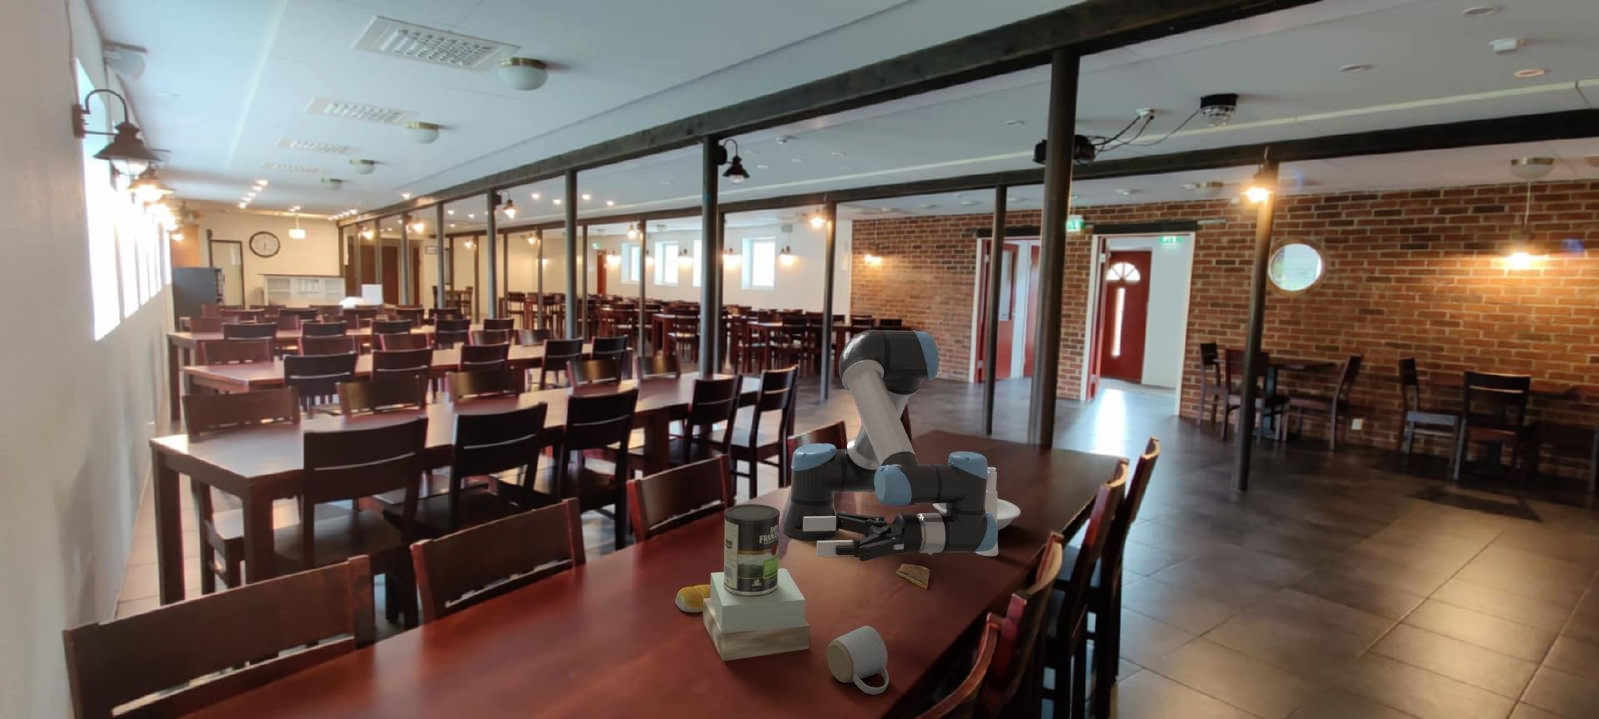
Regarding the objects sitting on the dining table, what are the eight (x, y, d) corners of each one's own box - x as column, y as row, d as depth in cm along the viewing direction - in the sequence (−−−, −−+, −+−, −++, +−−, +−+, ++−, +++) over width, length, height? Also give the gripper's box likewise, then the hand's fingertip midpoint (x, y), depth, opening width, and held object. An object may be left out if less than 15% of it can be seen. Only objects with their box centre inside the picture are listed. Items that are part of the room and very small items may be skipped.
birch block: (702, 623, 141) (703, 598, 140) (780, 613, 146) (781, 589, 146) (722, 664, 126) (723, 636, 126) (808, 651, 132) (809, 625, 131)
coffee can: (788, 581, 137) (790, 509, 136) (758, 601, 128) (760, 523, 127) (743, 570, 142) (744, 500, 141) (711, 588, 133) (713, 513, 132)
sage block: (710, 597, 141) (710, 572, 141) (784, 592, 145) (785, 568, 144) (721, 633, 127) (722, 605, 126) (804, 626, 130) (805, 599, 130)
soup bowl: (1029, 526, 207) (1030, 504, 207) (1004, 550, 187) (1006, 525, 186) (949, 510, 220) (950, 489, 219) (918, 531, 200) (919, 507, 199)
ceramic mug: (821, 673, 123) (824, 630, 122) (858, 659, 128) (860, 618, 127) (863, 703, 115) (866, 658, 114) (900, 688, 120) (903, 644, 119)
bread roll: (727, 607, 148) (727, 588, 147) (686, 617, 143) (687, 597, 142) (709, 592, 154) (709, 574, 154) (670, 601, 149) (670, 582, 149)
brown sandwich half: (927, 592, 160) (927, 584, 160) (892, 587, 162) (893, 579, 161) (930, 574, 170) (930, 566, 170) (897, 570, 172) (898, 562, 172)
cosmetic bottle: (972, 554, 183) (977, 468, 181) (975, 546, 189) (981, 463, 187) (996, 558, 181) (1002, 472, 179) (999, 550, 186) (1005, 466, 184)
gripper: (939, 578, 129) (822, 581, 125) (896, 530, 153) (797, 532, 149) (941, 537, 128) (824, 539, 124) (898, 495, 152) (799, 497, 148)
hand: (809, 535), depth 137 cm, fingers open, 13 cm apart
